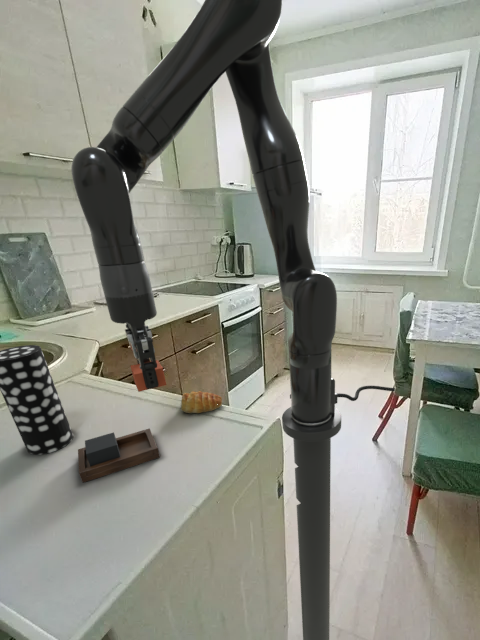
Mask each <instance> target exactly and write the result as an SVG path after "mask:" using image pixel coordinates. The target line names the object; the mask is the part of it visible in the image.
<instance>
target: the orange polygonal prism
mask: <svg viewBox="0 0 480 640" xmlns="http://www.w3.org/2000/svg"><path fill="white" fill-rule="evenodd" d="M150 362H151V360H150ZM145 363H147V362H145ZM156 363H157V368H155V370H156V375H157V379H158V384H159V385H158V387H155V388H154V389H156V388H160V387H164V386H167V381H166V377H165V376H166V375H165V372H164V371H165V370H164V367H163V366H162V365H161V362H160V361H159V359H156ZM139 366H140V364H138V363H136V364H131V365H130V370H131V374H132V377H133V381H134V385H135V387H136V389H137V391H138V393H141V392H145V391H149V389H147V388H146V386H145V382H144V378H143V374H142V371H141V369H140V367H139ZM151 389H152V390H153V388H151ZM151 389H150V390H151Z"/></svg>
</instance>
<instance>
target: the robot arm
mask: <svg viewBox="0 0 480 640" xmlns="http://www.w3.org/2000/svg"><path fill="white" fill-rule="evenodd" d="M282 7H283V0H204V1H203V3H202V5H201V6H200V8H199V10H198V11H197V13H196V14H195V16H194V18H193V19H192V20H191V22H190V23H189V25H188V27H186V29H185V30H184V32H183V33H182V35H181V36H180V38H179V39H178V40H177V42H175V44H174V45H173V47H171V49H170V50H169V51H168V52H167V54H166V55H165V56H164V57H163V58H162V59H161V61H160V62H158V64H157V66H155V67H154V69H153V70H151V72H150V73H149V74H148V76H146V78H145V79H144V80H143V81H142V83H140V85H139V86H138V87H137V88H136V90H134V92H133V93H132V94H131V95H130V96H129V98H128V99H127V100H126V101H125V103H123V105H122V106H121V107H120V109H119V110H118V111H117V113H116V114H115V116H114V117H113V120H112V122H111V127H110V129H109V131H108V132H107V134H106V135H104V137H103V138H102V139H101V140H100V142H99V143H98V144H97V146H88V147H84V148H82V149H80V150H79V151H78V152H77V153H76V154H75V155H74V157H73V159H72V162H71V177H72V183H73V186H74V189H75V193H76V196H77V199H78V201H79V205H80V207H81V210H82V213H83V215H84V218H85V221H86V223H87V225H88V228H89V231H90V236H91V242H92V247H93V250H94V254H95V258H96V261H97V265H98V270H99V281H100V283H101V288H102V291H103V295H104V298H105V303H106V306H107V310H108V313H109V317H110V318H109V319H110V320H111V321H112V322H113V323H116V324H121V325H122V324H123V325H124V324H125V328H124V332H125V333H124V334H125V335H126V339H127V340H128V344H129V347H130V350H131V351H132V353H133V357H134V359H135V360H136V362H137V363H136V364H140V366H139V367H140V369H141V371H142V374H143V378H144V382H145V386H146V388H147V389H148V390H151V388H152V389H156V388H159V387H158V385H159V384H158V379H157V375H156V370H155V368H157V363H156V360H157V359H156V354H155V353H156V350H155V347H154V340H153V334H152V330H151V328H149V326H148V325H147V324H146V321H148V320H152V319H153V318H155V317H156V316H157V315H158V312H157V308H156V306H157V305H156V302H155V297H154V292H153V288H152V282H151V279H150V274H149V271H148V268H147V264H146V262H145V257H144V252H143V248H142V243H141V239H140V236H139V235H140V234H139V232H138V229H137V227H136V225H135V219H134V215H133V209H132V202H131V198H130V193H131V192H132V191H133V189H134V188H135V186H136V185H137V184H138V183H139V181H140V180H141V178H142V177H143V175H144V174H145V173H146V171H147V170H148V169H149V167H150V166H151V165H152V164H153V162H155V161H156V160H157V159H158V158H159V157H160V156H161V155H162V154H163V153H164V152H165V151H166V149H167V148H168V147H169V146H170V145H171V143H172V142H173V141H174V140H175V139H176V138H177V137H178V135H179V134H180V133H181V132H182V130H183V129H184V128H185V126H186V125H187V124H188V123H189V121H190V120H191V118H192V117H193V116H194V114H195V113H196V111H197V110H198V109H199V107H200V105H201V104H202V102H203V101H204V100H205V98H206V96H207V95H208V94H209V92H210V91H211V89H212V88H213V87H214V86H215V85H216V83H217V82H218V81H219V80H220V79H221V77H222V76H223V75H224V74H225V75H226V77H227V80H228V83H229V86H230V89H231V92H232V95H233V98H234V102H235V105H236V109H237V114H238V117H239V124H240V128H241V132H242V138H243V141H244V146H245V149H246V154H247V157H248V162H249V166H250V171H251V175H252V179H253V183H254V186H255V190H256V194H257V198H258V201H259V204H260V208H261V211H262V214H263V218H264V222H265V226H266V229H267V232H268V235H269V236H268V237H269V238H270V242H271V244H272V248H273V253H274V258H275V263H276V270H277V276H278V282H279V288H280V289H279V290H280V294H281V299H282V302H283V303H284V304H285V306H286V308H288V309H289V310H290V311H291V312H292V313H293V314H292V315H293V316H292V318H293V319H292V320H293V321H292V322H293V324H292V326H293V327H292V333H290V334H289V336H288V339H287V340H288V341H287V342H288V345H287V346H288V363H289V383H290V385H289V386H290V394H289V399H290V405H291V406H290V407H292V410H291V411H292V413H291V416H292V420H293V421H294V422H295V423H296V424H298V425H301V426H305V427H317V426H322V425H324V424H326V423H328V422H329V421H330V420H331V418H332V417H334V416H335V408H336V406H335V405H337V404H338V398H344V399H348V400H349V401H351V402H355V401H357V400H358V398H359V395H360V393H361V392H362V391H364V390H379V391H385V392H395V391H396V388H395V387H388V386H379V385H363V386H361V387H358V388H357V390H356V391H355V394H354V396H351V395H350V394H347V393H341V392H339V393H337V392H336V380H335V379H334V378H333V377H332V345H333V340H334V337H335V335H336V330H337V329H336V328H337V325H336V324H337V312H338V311H337V310H338V295H337V294H338V293H337V288H336V285H335V282H334V281H333V280H332V278H331V277H330V276H329V275H327V274H326V273H324V272H321V271H318V270H317V269H316V267H315V264H314V261H313V256H312V252H311V248H310V244H309V233H308V232H309V217H310V205H311V204H310V201H311V197H310V196H311V194H310V193H311V192H310V185H309V180H308V174H307V169H306V164H305V163H306V162H305V158H304V154H303V150H302V146H301V143H300V141H299V138H298V136H297V133H296V132H295V130H294V127H293V125H292V123H291V122H290V119H289V118H288V116H287V114H286V111H285V109H284V107H283V105H282V102H281V100H280V97H279V94H278V90H277V86H276V82H275V76H274V69H273V65H272V64H273V63H272V57H271V51H270V42H271V40H272V38H273V37H274V35H275V33H276V31H277V29H278V26H279V23H280V19H281V16H282V11H283V9H282ZM150 361H151V362H150ZM145 362H147V363H145ZM155 387H156V388H155Z"/></svg>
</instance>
